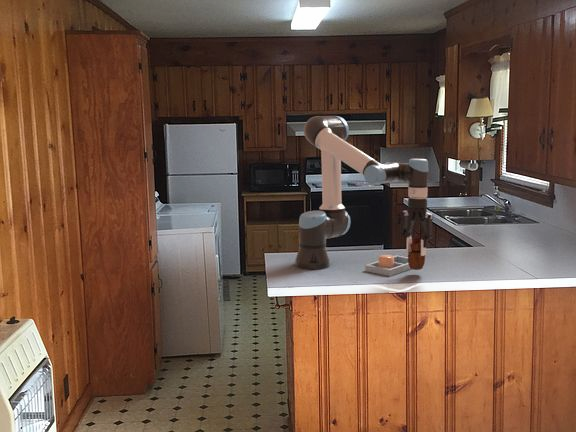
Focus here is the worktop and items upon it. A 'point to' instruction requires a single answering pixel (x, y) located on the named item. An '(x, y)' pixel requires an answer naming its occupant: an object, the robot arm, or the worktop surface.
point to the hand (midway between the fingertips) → (416, 253)
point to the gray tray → (399, 267)
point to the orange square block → (386, 261)
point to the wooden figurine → (416, 254)
